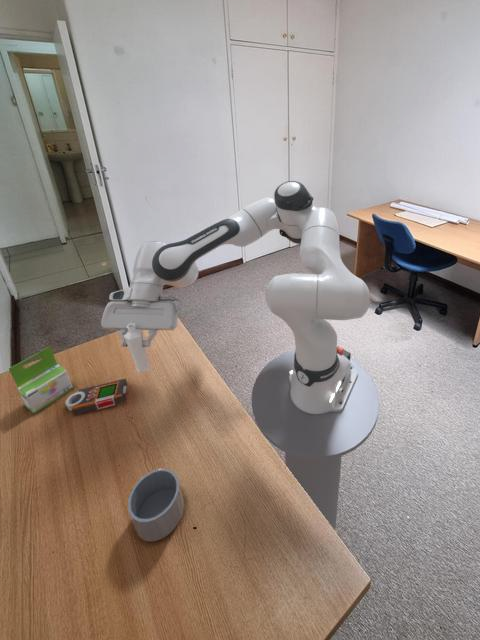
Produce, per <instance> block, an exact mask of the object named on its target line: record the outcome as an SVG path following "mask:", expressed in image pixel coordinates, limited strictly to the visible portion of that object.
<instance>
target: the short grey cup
mask: <svg viewBox="0 0 480 640" xmlns="http://www.w3.org/2000/svg"><path fill="white" fill-rule="evenodd" d="M184 508H185V501H184V495H183V493H182V488H181V484H180V480H179V477H178V475H177V474H176V473H175V472H174V471H173V470H171V469H170V468H169V469H168V468H157V469H154V470H152V471H150V472H148V473H146V474H145V475H143V476H142V477H141V478H140V479H138V481H137V482H136V483H135V484H134V486H133V488H132V489H131V491H130V494H129V495H128V500H127V510H128V515H129V517H130V520H131V522H132V524H133V527H134V530H135V533H136V534H137V536H138V537H139V538H140V539H141V540H143V541H145V542H157V541H160V540H163V539H165V538H166V537H167V536H168V535H170V534H171V533H172V532H173V531H174V530H175V529H176V527H177V526H178V525H179V523H180V521H181V519H182V517H183V514H184V510H185V509H184Z"/></svg>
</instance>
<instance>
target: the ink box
mask: <svg viewBox="0 0 480 640" xmlns="http://www.w3.org/2000/svg"><path fill="white" fill-rule="evenodd" d="M39 357H41V359H40V360H38V361H36V362H35V363H34V362H33V364H31V365H29V366H27V367H24V366H25V365H26V364H28V363H29V362H30V361H32V360H34V359H36V358H39ZM8 371H9V372H10V375H11V376H12V379H13V381H14V383H15V384H16V386H17V392H18V394H19V396H20V398H21V400H22V402H23V404H24V406H25V407H26V408H27V409H28V410H29V412H30V413H32V414H33V415H36V414H37V413H39V412H41V411H42V410H43V409H45V408H47V407H48V406H49V405H51V404H53V403H54V402H55V401H57V400H59V399H60V398H61V397H63V396H65V395H66V394H67V393H69V392H71V391H72V390H73V389H74V386H73V384H72V381H71V378H70V377H69V374H68V372H67V370H66V369H65V368H64V367H62V366H61V365H60V364H58V362H57V360H56V357H55V354H54V352H53V350H52V347H51V345H49V346H47V347H45V348H43V349H41V350H40V351H38V352H36V353H34V354H32V355H30V356H29V357H27V358H25V359H23V360H22V361H19V362H18V363H16V364H14V365H12V366H10V367H9V368H8Z"/></svg>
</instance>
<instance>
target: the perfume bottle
mask: <svg viewBox="0 0 480 640" xmlns="http://www.w3.org/2000/svg"><path fill="white" fill-rule="evenodd" d="M127 328H128V332H127V333H126V334H125V335H124V338H125V340H126V343H127V345H128V350H129V352H130V355H131V357H132V359H133V362H134V364H135V371H136V372H138V373H139V374H142V373H143V372H146V371H148V370H150V367H151V362H150V361H149V360H148V355H147V349H146V347H142V344H143V340H145V339H144V334H143V333H144V332H143V330H142V329H136V327H135V323H130V324H129V325H128V326H127Z"/></svg>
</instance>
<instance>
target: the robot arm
mask: <svg viewBox="0 0 480 640" xmlns="http://www.w3.org/2000/svg"><path fill="white" fill-rule="evenodd" d="M313 201H314V197H313V195H312V194H311V192H309V191H308V188H307V187H306V186H305V185H304V184H303V183H302V182H300V181H296V180H288V181H284V182H283V183H281V184H280V185H278V186H277V187H276V189H275V190H274V194H273V198H272V197H264V198H260V199H258V200H256V201H254V202H252V203H250V204H248V205H246V206H244V207H243V208H242V209H240V210H238V211H237V212H235V213H234V214H231V215H230V216H228V217H226V218H225V219H222V220H220V221H218V222H216V223H213V224H212V225H210V226H207V227H206V228H204V229H203V230H201V231H199V232H197V233H195V234H193V235H191V236H189V237H187V238H185V239H183V240H181V241H176V242H170V243H165V242H163V241H155V240H153V241H148V242H146V243H143V244H142V245H141V246H140V247H139V249H138V251H137V254H136V257H135V260H134V264H133V268H132V272H133V273H132V274H133V276H132V279H131V281H130V283H129V287H125V288H123V289H120V290H117V291H113V292H111V293H110V294H109V296H108V299H109V300H110V301H109V302H107V304H106V306H105V307H104V311H103V313H102V317H101V321H100V325H101V327H102V328H103V329H106V330H119V332H118V334H119V336H120V339H121V342H120V347H123V348H124V347H128V345H127V343H126V340H125V338H124V335H125V334H126V333H127V332H129V331H128V328H127V326H128V325H129V324H130V323H135V327H136V329H142V331H148V332H147V333H148V334H149V335H148V337H147V338H146V339H144V340H143V344H142V347H145V348H151V345H152V341H153V339H154V338H155V337H156V336H157V334H158V331H175V329H176V328H177V327H178V319H179V318H178V317H179V316H178V311H179V310H180V304H181V303H180V300H179V299H178V298H176V296H163V291H164V286H165V285H166V286H170V287H175V288H179V289H185V288H189V287H191V286H192V285H194V284H195V283H196V282H197V280H198V278H199V275H200V272H199V267H198V265H197V263H196V262H197V261H198V260H199V259H201V258H202V257H205V256H206V255H208V254H209V253H211V252H212V251H214V250H216V249H217V248H220V247H222V246H225V245H233V246H236V247H239V248H244V247H247V246H249V245H252V244H253V243H255V242H256V241H259V240H260V239H261V238H263V237H264V236H266V235H267V234H268V233H270V232H271V231H274V230H279V235H280V236H282V237H284V238H286V239H287V240H288V241H289V242H291V243H293V244H296V245H300V248H299V260H300V263H301V264H302V266H303V267H304V268H305V270H307V272H309V273H297V272H296V273H294V272H291V273H284V274H278V275H274V276H273V277H272V279H270V281H269V283H268V284H267V287H266V289H265V301H266V304H267V307H268V309H269V311H270V312H271V313H272V314H274V315H275V316H277V317H278V318H280V319H281V320H282V321H284V322H285V324H286V325H287V326H288V327H289V328H290V330H291V332H292V335H293V337H294V344H295V349H296V351H295V354H294V361H293V366H292V371H290V375H289V382H290V384H291V389H290V395H291V399H292V401H293V403H294V404H295V406H296V407H298V408H299V409H300V410H302V411H304V412H306V413H309V414H323V413H327V412H331V411H332V412H341V411H343V409H344V407H345V405H346V402H347V400H348V398H349V395H350V393H351V391H352V388H353V386H354V384H355V381H356V379H357V377H358V372H357V370H356V369H355V368H354V367H353V366H352V365H351V363H350V358H351V357H352V356H351V352H349V351H347V350H346V349H344V348H343V347H340V346H339V345H338V334H337V331H336V330H335V328H334V327H333V325H332V324H331V323H330V322H329V321H330V320H331V321H348V320H349V321H350V320H356V319H361V318H363V317H364V316H365V315H366V313H367V312H368V310H369V308H370V305H371V292H370V289H369V287H368V285H367V284H366V282H365V281H364V280H363V279H362V278H360V277H358V276H357V275H356V274H354V273H353V272H351V271H350V270H349V269H348V268H347V266H346V265H345V263H344V262H343V260H342V257H341V256H342V255H341V249H340V248H341V247H340V228H339V223H338V220H337V217H336V214H335V212H333V211H332V210H331V209H329V208H327V207H323V206H322V207H321V206H320V207H319V206H316V205H315V204H314V203H313ZM327 320H329V321H327ZM339 403H341V404H339Z"/></svg>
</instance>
